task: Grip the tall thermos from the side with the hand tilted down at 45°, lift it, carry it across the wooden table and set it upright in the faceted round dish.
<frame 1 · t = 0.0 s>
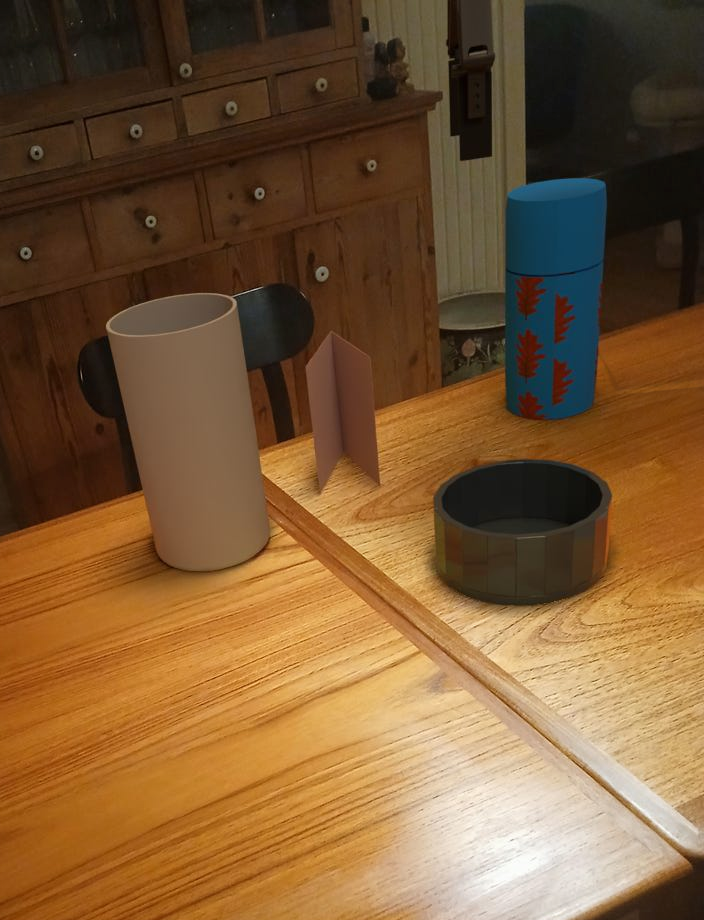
hand: (469, 145, 92), 34 cm above the table, tool pointing down, fingers open, 13 cm apart
thermos: (549, 404, 123), on the table
greeting card: (355, 473, 116), on the table
faceted round dish: (519, 561, 94), on the table
cylinder vase: (214, 546, 107), on the table
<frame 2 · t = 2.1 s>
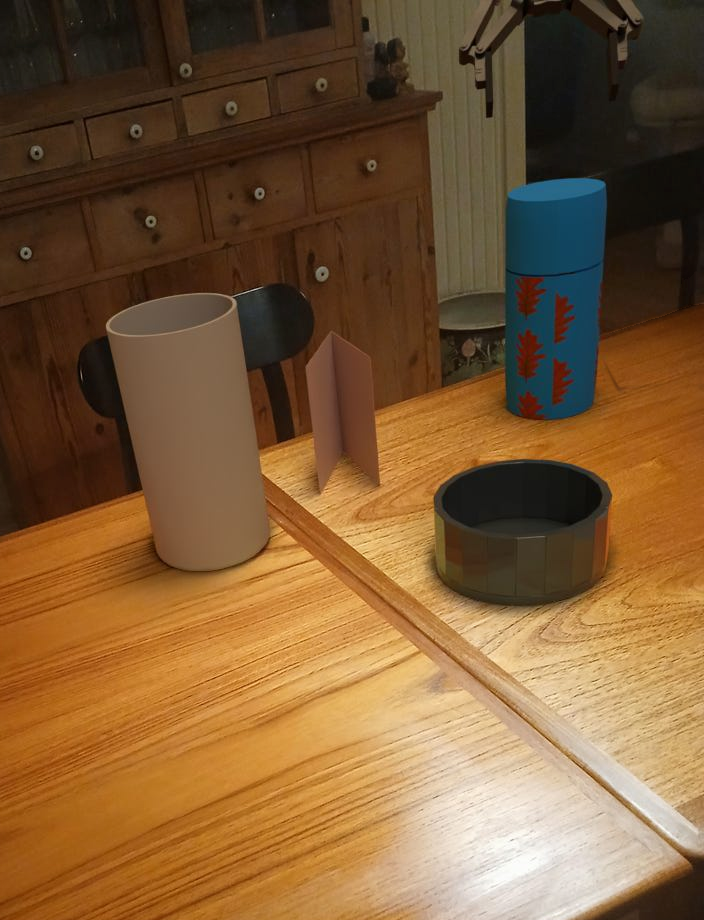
hand: (550, 101, 113), 33 cm above the table, tool tilted 45°, fingers open, 13 cm apart
nothing on the table moved.
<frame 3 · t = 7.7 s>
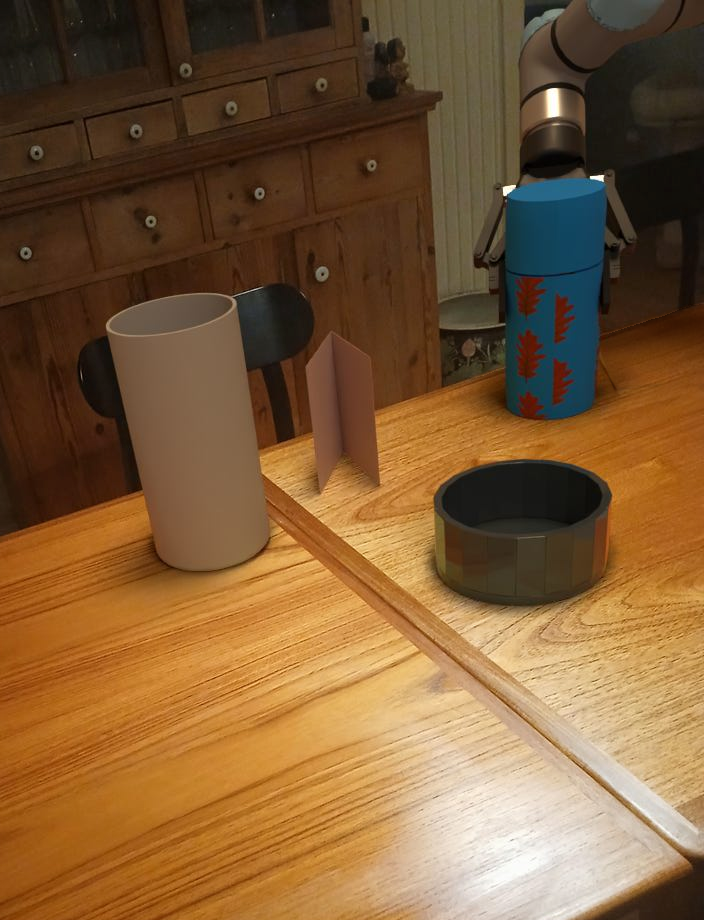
hand: (553, 313, 114), 12 cm above the table, tool tilted 45°, fingers closed on thermos, 11 cm apart
thermos: (549, 404, 123), on the table, touching gripper
everything else where it was.
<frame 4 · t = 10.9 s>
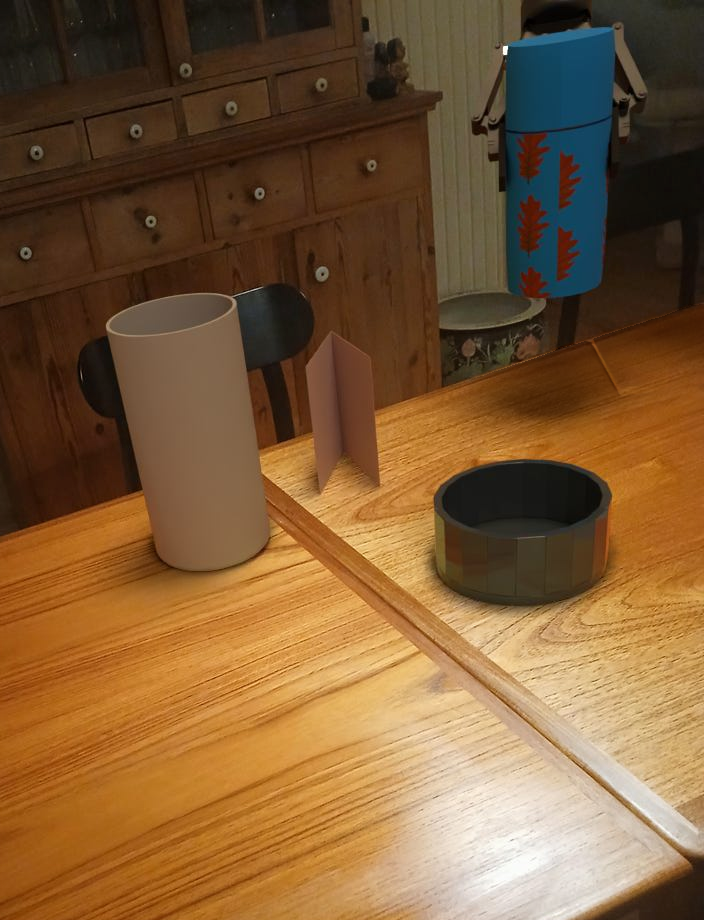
hand: (557, 177, 106), 27 cm above the table, tool tilted 45°, fingers closed on thermos, 11 cm apart
thermos: (553, 286, 115), point 15 cm above the table, touching gripper
everything else where it was.
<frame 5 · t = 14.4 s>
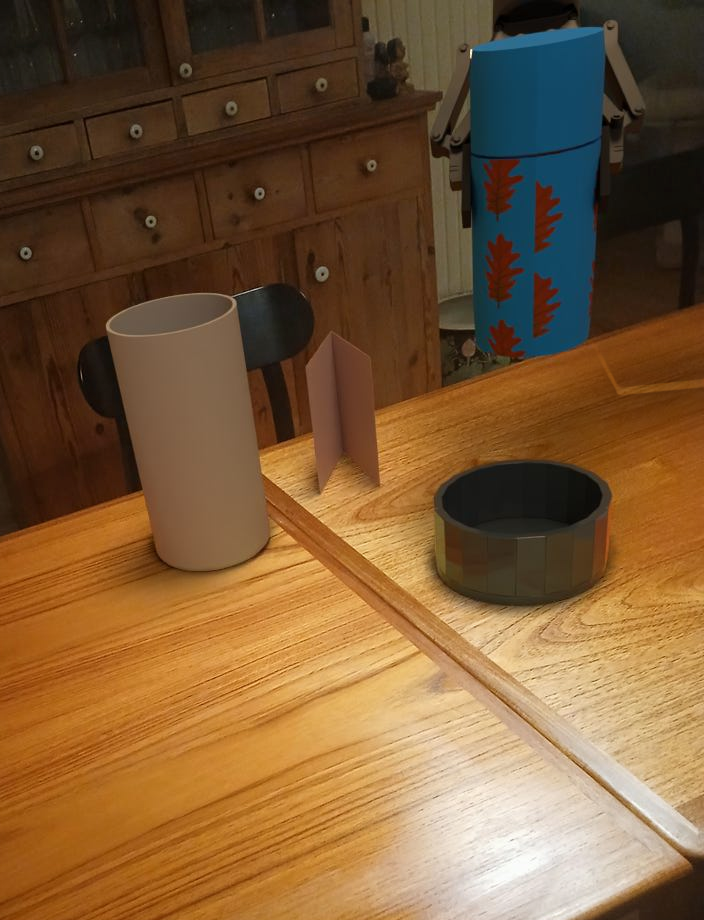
hand: (533, 212, 86), 29 cm above the table, tool tilted 45°, fingers closed on thermos, 11 cm apart
thermos: (531, 340, 95), point 17 cm above the table, touching gripper
everything else where it was.
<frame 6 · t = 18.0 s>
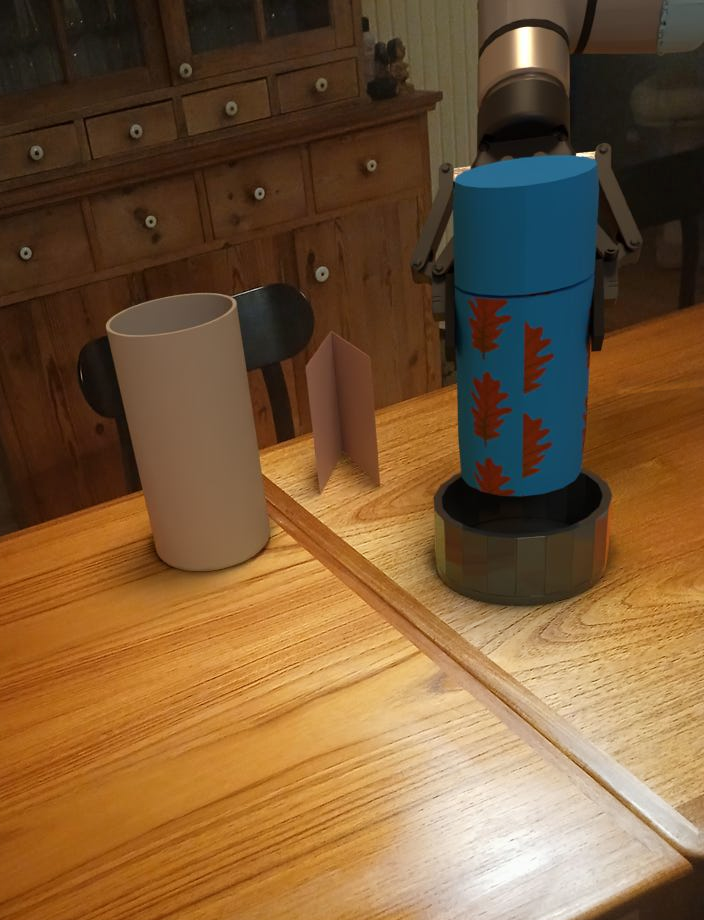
hand: (522, 349, 80), 22 cm above the table, tool tilted 45°, fingers closed on thermos, 11 cm apart
thermos: (520, 471, 89), point 9 cm above the table, touching gripper
everything else where it was.
when the fingers open (13 cm above the table, at t = 21.0 s): thermos stays where it is, resting on faceted round dish.
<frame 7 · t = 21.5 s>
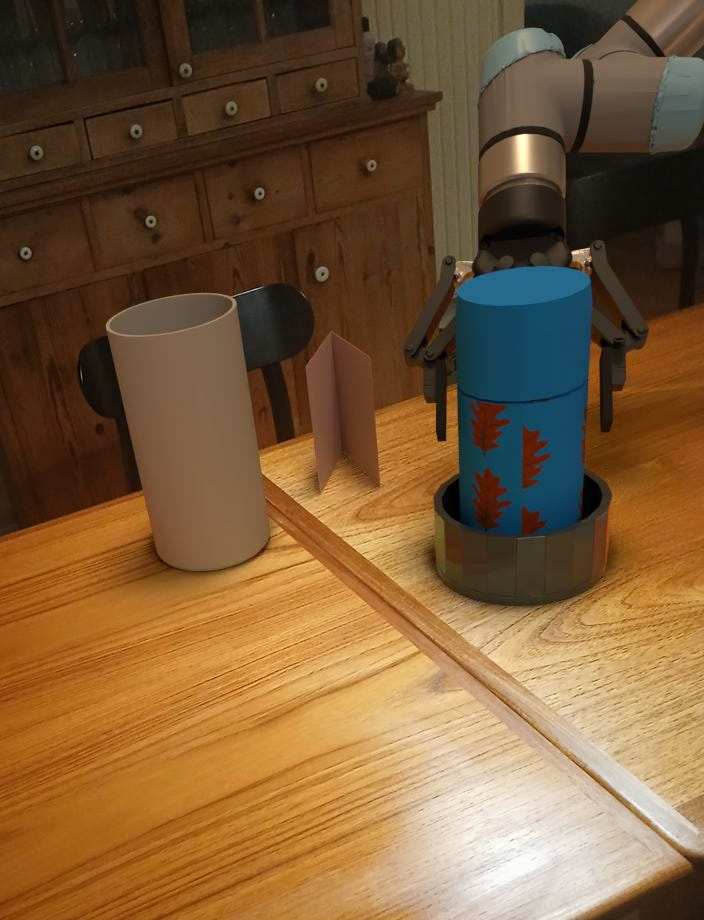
hand: (521, 431, 84), 14 cm above the table, tool tilted 45°, fingers open, 13 cm apart
thermos: (519, 553, 94), point 1 cm above the table, touching faceted round dish
everything else where it was.
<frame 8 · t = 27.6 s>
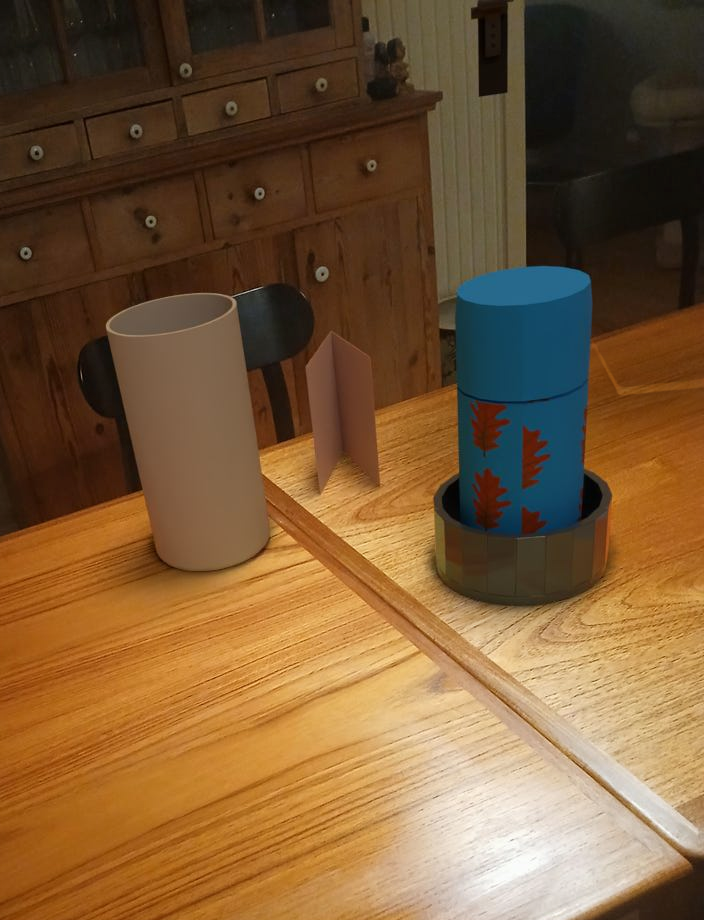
hand: (493, 85, 101), 37 cm above the table, tool pointing down, fingers open, 13 cm apart
nothing on the table moved.
at the end: thermos 0.1 cm off-centre in the faceted round dish, point 0.8 cm above the faceted round dish's base; thermos tilted 0°; the gripper is holding nothing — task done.
